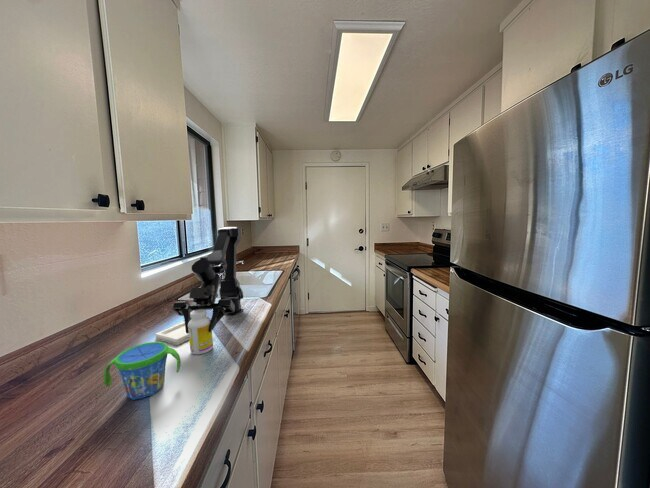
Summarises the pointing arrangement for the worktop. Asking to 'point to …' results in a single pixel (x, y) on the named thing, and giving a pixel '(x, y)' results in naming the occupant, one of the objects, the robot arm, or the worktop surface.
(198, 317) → the supplement bottle
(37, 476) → the worktop surface
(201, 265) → the robot arm
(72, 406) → the worktop surface
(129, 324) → the worktop surface
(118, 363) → the snack cup
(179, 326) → the tray
